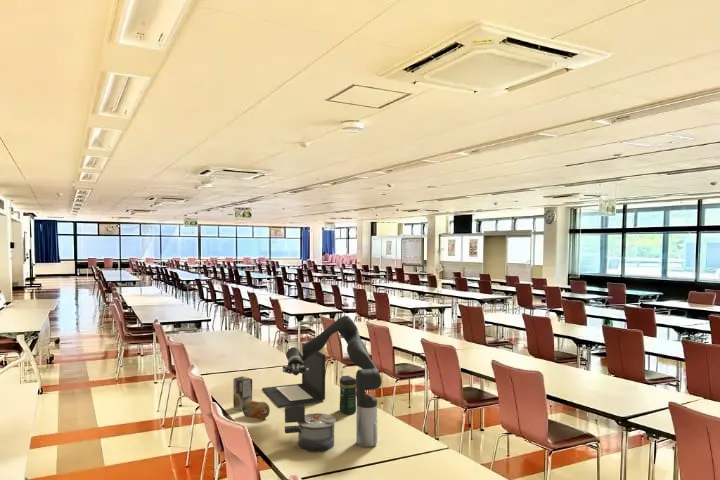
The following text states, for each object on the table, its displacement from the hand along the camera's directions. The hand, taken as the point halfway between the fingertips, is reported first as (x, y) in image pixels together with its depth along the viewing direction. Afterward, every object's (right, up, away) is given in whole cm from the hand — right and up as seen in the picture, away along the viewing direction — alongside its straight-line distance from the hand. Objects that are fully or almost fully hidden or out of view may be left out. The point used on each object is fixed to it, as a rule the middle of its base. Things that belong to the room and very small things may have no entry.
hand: (295, 373), depth 240 cm
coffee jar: (+23, -30, +38) cm, 54 cm away
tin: (-24, -30, +27) cm, 47 cm away
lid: (+8, -20, -8) cm, 22 cm away
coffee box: (-34, -30, +42) cm, 61 cm away
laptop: (-10, -31, +66) cm, 73 cm away
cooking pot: (+7, -30, -8) cm, 32 cm away
